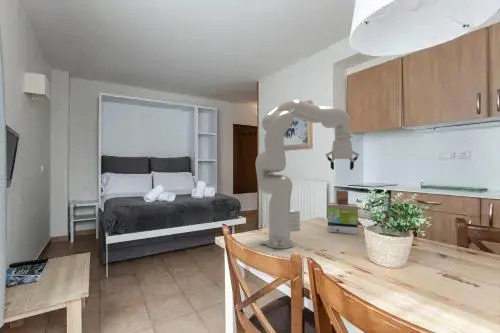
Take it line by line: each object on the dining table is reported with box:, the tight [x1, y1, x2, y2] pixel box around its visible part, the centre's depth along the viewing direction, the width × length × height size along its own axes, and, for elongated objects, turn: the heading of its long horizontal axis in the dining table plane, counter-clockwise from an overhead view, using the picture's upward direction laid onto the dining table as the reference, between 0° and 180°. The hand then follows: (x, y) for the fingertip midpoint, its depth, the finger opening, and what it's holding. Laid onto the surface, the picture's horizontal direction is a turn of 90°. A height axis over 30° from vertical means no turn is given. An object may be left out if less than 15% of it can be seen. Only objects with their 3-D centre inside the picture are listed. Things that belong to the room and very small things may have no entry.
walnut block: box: [335, 190, 349, 205], centre depth 142 cm, size 5×5×7 cm
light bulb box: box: [290, 207, 301, 232], centre depth 148 cm, size 11×7×11 cm, turn 25°
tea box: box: [327, 201, 359, 235], centre depth 142 cm, size 15×10×15 cm, turn 73°
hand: (342, 169), depth 141 cm, fingers open, 9 cm apart
